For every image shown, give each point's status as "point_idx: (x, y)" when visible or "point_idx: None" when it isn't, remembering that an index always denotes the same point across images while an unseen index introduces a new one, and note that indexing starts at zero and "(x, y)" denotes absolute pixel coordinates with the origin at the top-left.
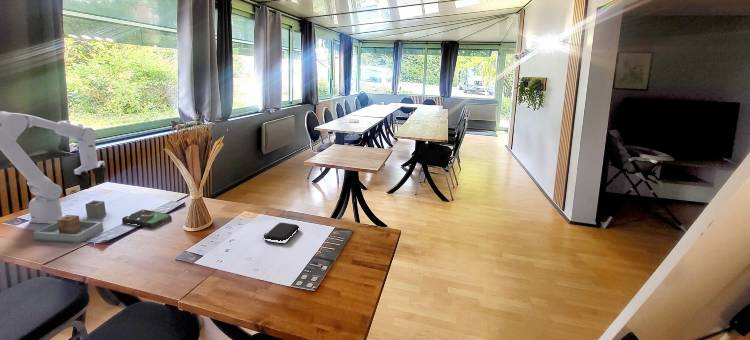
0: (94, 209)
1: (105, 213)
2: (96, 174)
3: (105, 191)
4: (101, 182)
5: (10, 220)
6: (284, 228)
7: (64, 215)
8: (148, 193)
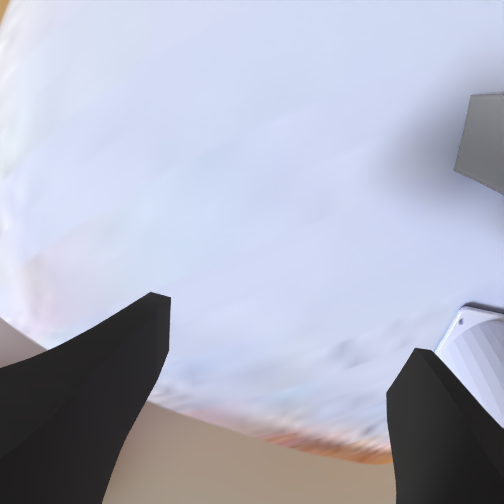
0: None
1: (479, 97)
2: (108, 446)
3: (46, 288)
4: (162, 300)
5: None
6: None
7: (462, 326)
8: (38, 23)
